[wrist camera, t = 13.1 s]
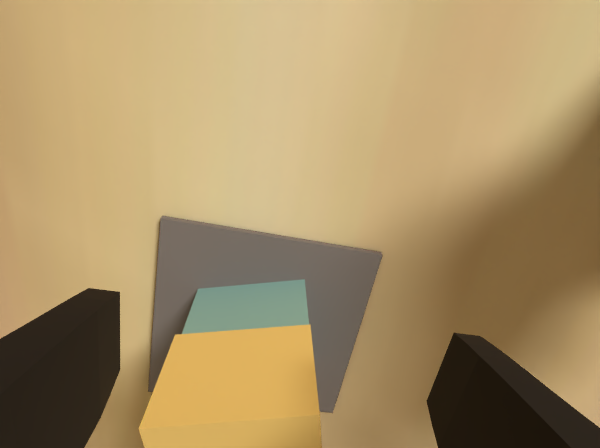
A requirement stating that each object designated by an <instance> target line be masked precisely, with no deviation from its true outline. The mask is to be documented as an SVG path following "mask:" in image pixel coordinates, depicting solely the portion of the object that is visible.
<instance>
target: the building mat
mask: <svg viewBox="0 0 600 448" xmlns="http://www.w3.org/2000/svg"><path fill="white" fill-rule="evenodd" d="M381 259H382V253H381V252H377V251H371V250H365V249H359V248H353V247H347V246H341V245H335V244H329V243H323V242H317V241H311V240H305V239H299V238H293V237H287V236H281V235H275V234H269V233H263V232H257V231H251V230H245V229H239V228H232V227H226V226H220V225H214V224H208V223H202V222H196V221H190V220H184V219H178V218H172V217H166V216H162V217H161V221H160V235H159V249H158V263H157V277H156V290H155V304H154V318H153V332H152V346H151V360H150V374H149V387H148V392H153V391H154V388H155V385H156V383H157V380H158V378H159V375H160V372H161V370H162V367H163V365H164V362H165V359H166V357H167V354H168V352H169V349H170V346H171V344H172V341H173V339H174V336H175V335H177V334H182V332H183V329H184V326H185V323H186V321H187V318H188V315H189V312H190V310H191V307H192V304H193V301H194V299H195V296H196V293H197V290H198V289H201V288H212V287H224V286H235V285H246V284H258V283H269V282H280V281H291V280H303V279H305V288H306V298H307V308H308V318H309V324H310V325H311V335H312V345H313V354H314V364H315V373H316V383H317V392H318V402H319V411H321V412H330V413H333V410H334V407H335V404H336V400H337V397H338V394H339V391H340V388H341V385H342V382H343V378H344V375H345V372H346V369H347V366H348V363H349V359H350V356H351V353H352V350H353V347H354V344H355V341H356V337H357V334H358V331H359V328H360V325H361V322H362V318H363V315H364V312H365V309H366V306H367V303H368V300H369V296H370V293H371V290H372V287H373V284H374V281H375V278H376V274H377V271H378V268H379V265H380V262H381Z"/></svg>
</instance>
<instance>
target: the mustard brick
mask: <svg viewBox="0 0 600 448" xmlns="http://www.w3.org/2000/svg"><path fill="white" fill-rule="evenodd" d="M139 432H140V435H141V438H142V442H143V445H144V448H322V444H321V426H320V412H319V402H318V392H317V383H316V373H315V364H314V354H313V345H312V335H311V325H310V324H309V325H296V326H282V327H269V328H256V329H243V330H230V331H217V332H203V333H190V334H177V335H175V336H174V339H173V341H172V344H171V346H170V349H169V352H168V354H167V357H166V359H165V362H164V365H163V367H162V370H161V372H160V375H159V378H158V380H157V383H156V385H155V388H154V391H153V393H152V396H151V398H150V401H149V403H148V406H147V409H146V411H145V414H144V416H143V419H142V422H141V424H140V427H139Z"/></svg>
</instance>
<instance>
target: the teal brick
mask: <svg viewBox="0 0 600 448" xmlns="http://www.w3.org/2000/svg"><path fill="white" fill-rule="evenodd" d="M296 325H309V318H308V308H307V298H306V288H305V279H303V280H291V281H280V282H269V283H258V284H246V285H235V286H224V287H212V288H201V289H198V290H197V293H196V296H195V299H194V301H193V304H192V307H191V310H190V312H189V315H188V318H187V321H186V323H185V326H184V329H183V332H182V334H190V333H203V332H217V331H230V330H243V329H256V328H269V327H282V326H296Z"/></svg>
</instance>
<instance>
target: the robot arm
mask: <svg viewBox="0 0 600 448" xmlns="http://www.w3.org/2000/svg"><path fill="white" fill-rule="evenodd" d="M119 371H120V292H115V291H107V290H99V289H91V288H88V289H86V290H85V291H83V292H81V293H79V294H77V295H75V296H74V297H72V298H70V299H68V300H67V301H65V302H63V303H61V304H60V305H58V306H56V307H55V308H53V309H51V310H49V311H48V312H46V313H44V314H43V315H41V316H39V317H38V318H36V319H34V320H32V321H31V322H29V323H27V324H25V325H24V326H22V327H20V328H18V329H17V330H15V331H13V332H11V333H10V334H8V335H6V336H4V337H3V338H1V339H0V448H84V447H85V445H86V444H87V442H88V440H89V438H90V436H91V434H92V433H93V431H94V429H95V427H96V425H97V423H98V421H99V419H100V418H101V415H102V413H103V410H104V408H105V406H106V403H107V401H108V399H109V396H110V394H111V391H112V389H113V386H114V384H115V381H116V379H117V376H118V373H119ZM427 405H428V409H429V413H430V418H431V422H432V426H433V430H434V434H435V437H436V441H437V445H438V448H600V428H599V427H598V426H597V425H595V424H594V423H593V422H591V421H590V420H589V419H587V418H586V417H585V416H583V415H582V414H581V413H580V412H578V411H577V410H576V409H574V408H573V407H572V406H571V405H569V404H568V403H567V402H565V401H564V400H563V399H562V398H560V397H559V396H558V395H556V394H555V393H554V392H553V391H551V390H550V389H549V388H548V387H546V386H545V385H544V384H543V383H541V382H540V381H539V380H538V379H536V378H535V377H534V376H532V375H531V374H530V373H529V372H527V371H526V370H525V369H524V368H522V367H521V366H520V365H519V364H517V363H516V362H515V361H513V360H512V359H511V358H510V357H508V356H507V355H506V354H504V353H503V352H502V351H500V350H499V349H498V348H496V347H495V346H494V345H492V344H491V343H489V342H488V341H486V340H485V339H483V338H482V337H480V336H475V335H467V334H459V333H454V334H453V336H452V339H451V341H450V344H449V346H448V349H447V352H446V354H445V357H444V359H443V362H442V364H441V367H440V369H439V372H438V374H437V377H436V379H435V382H434V384H433V387H432V389H431V392H430V394H429V397H428V399H427Z"/></svg>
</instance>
